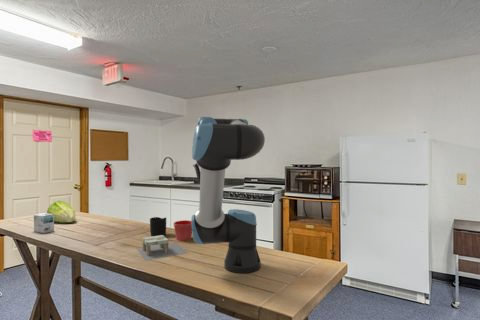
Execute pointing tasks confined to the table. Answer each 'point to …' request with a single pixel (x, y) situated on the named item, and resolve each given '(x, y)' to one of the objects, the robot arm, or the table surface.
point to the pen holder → (157, 226)
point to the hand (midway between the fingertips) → (206, 198)
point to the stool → (155, 243)
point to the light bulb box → (43, 223)
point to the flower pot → (183, 230)
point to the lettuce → (61, 212)
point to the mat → (162, 251)
